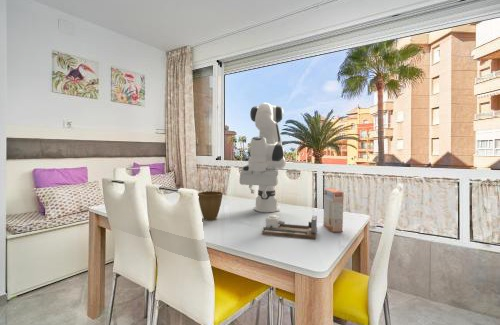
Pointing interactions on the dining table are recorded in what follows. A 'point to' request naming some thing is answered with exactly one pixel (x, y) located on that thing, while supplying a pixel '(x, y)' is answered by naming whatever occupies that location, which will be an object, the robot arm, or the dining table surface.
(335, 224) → the cracker box
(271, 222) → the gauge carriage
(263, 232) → the gauge bench
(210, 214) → the plant pot
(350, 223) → the dining table surface
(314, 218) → the grey long frame
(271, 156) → the robot arm
